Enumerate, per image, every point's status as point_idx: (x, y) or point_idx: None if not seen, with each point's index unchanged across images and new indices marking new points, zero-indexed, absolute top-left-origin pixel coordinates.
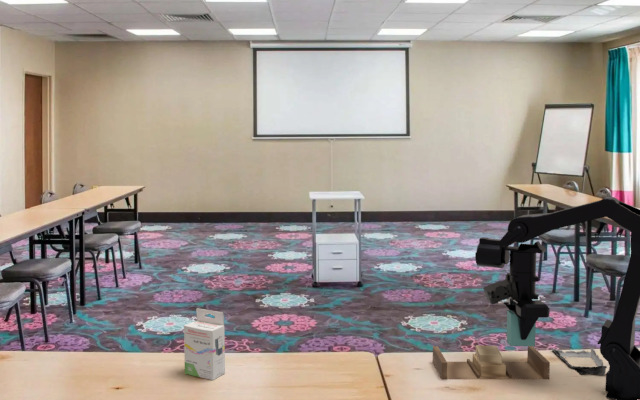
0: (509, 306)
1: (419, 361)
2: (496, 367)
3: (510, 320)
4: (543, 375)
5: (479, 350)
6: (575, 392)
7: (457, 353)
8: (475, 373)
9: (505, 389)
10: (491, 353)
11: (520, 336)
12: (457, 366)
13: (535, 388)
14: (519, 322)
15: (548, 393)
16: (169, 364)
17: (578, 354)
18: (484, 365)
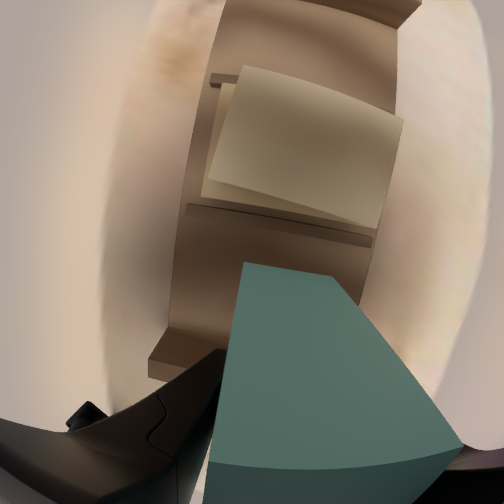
0: (485, 500)
1: (429, 21)
2: (210, 151)
3: (257, 370)
4: (170, 332)
5: (320, 93)
6: (116, 365)
7: (485, 165)
8: None
9: (148, 164)
10: (259, 135)
11: (221, 356)
12: (347, 60)
13: (143, 273)
14: (139, 419)
15: (107, 292)
16: None
17: None
18: (228, 98)
